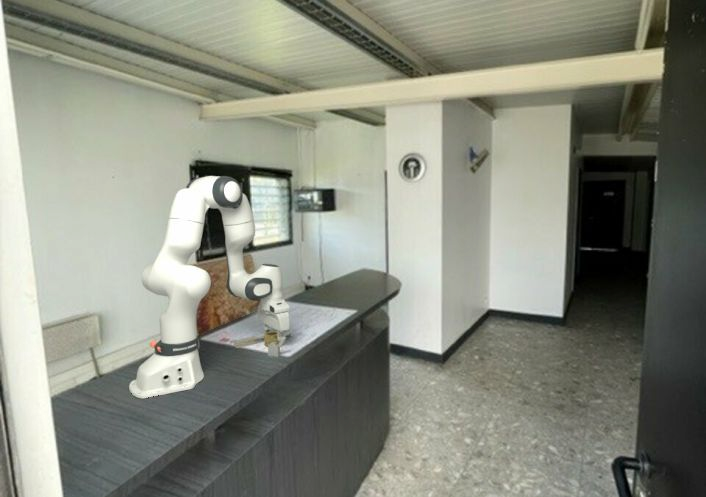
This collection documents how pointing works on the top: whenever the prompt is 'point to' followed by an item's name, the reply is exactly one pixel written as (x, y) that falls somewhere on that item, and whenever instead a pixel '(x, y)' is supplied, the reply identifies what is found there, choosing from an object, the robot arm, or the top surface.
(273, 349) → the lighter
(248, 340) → the ratchet
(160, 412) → the top surface
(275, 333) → the socket
